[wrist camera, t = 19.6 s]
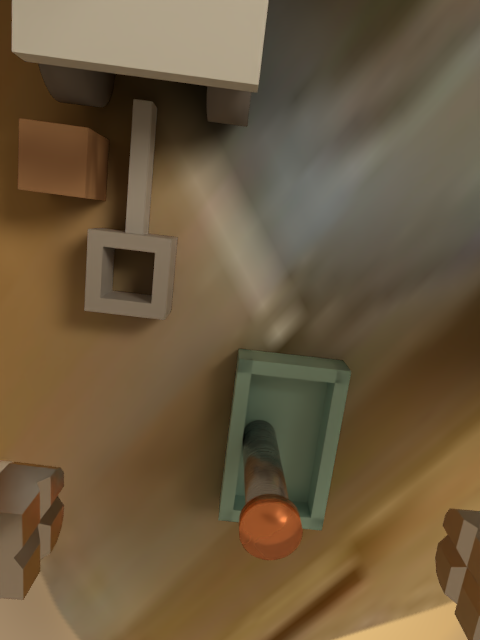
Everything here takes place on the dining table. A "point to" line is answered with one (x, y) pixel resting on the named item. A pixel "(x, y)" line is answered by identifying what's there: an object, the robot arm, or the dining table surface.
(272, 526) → the pin
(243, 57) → the trolley
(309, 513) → the tray
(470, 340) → the dining table surface
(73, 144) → the block
